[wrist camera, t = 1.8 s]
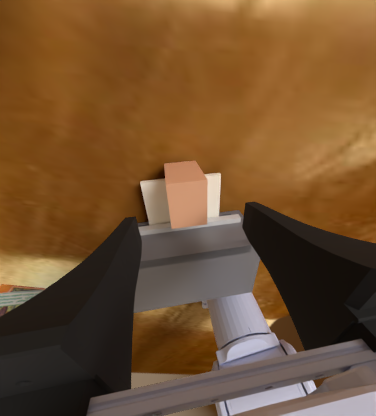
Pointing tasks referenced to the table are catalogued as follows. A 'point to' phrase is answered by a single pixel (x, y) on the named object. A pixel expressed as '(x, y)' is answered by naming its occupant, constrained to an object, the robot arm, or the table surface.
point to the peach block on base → (182, 196)
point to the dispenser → (194, 262)
